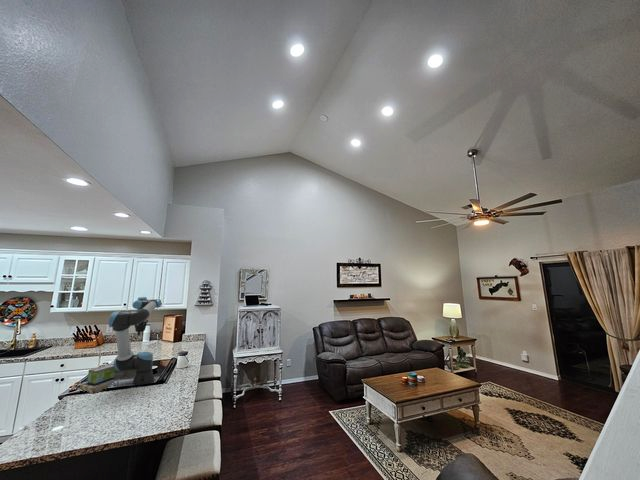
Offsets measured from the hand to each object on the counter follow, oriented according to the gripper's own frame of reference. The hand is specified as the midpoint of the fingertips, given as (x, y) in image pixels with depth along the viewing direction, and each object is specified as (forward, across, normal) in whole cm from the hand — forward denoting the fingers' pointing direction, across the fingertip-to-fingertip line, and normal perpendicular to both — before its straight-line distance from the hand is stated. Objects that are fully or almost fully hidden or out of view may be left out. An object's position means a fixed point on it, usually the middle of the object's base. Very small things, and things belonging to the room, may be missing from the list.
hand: (139, 338), depth 261 cm
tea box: (+30, +34, +6) cm, 46 cm away
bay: (+29, +40, +8) cm, 50 cm away
